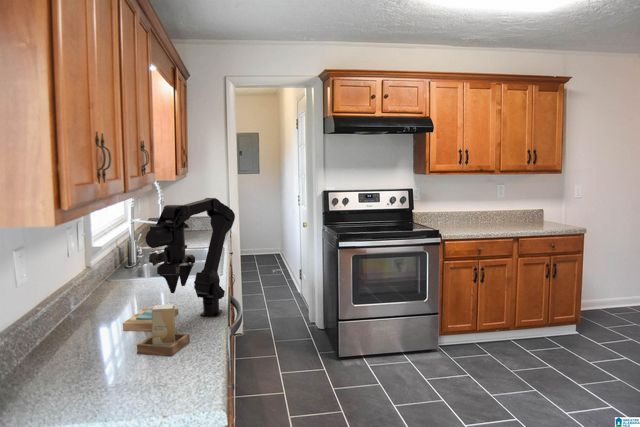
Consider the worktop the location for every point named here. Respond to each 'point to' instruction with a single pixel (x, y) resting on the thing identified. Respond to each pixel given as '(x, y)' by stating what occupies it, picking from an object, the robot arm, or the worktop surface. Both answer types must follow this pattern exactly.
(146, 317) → the shallow wooden box
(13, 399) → the worktop surface
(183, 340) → the tray
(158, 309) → the skincare box
